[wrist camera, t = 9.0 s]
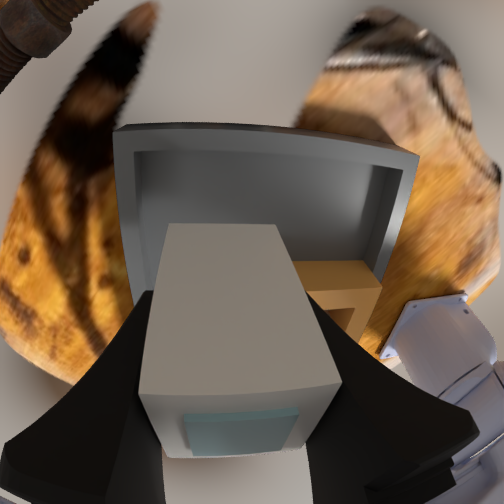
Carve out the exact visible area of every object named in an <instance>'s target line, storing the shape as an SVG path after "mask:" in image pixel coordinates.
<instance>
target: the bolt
mask: <svg viewBox="0 0 504 504" xmlns="http://www.w3.org/2000/svg"><path fill="white" fill-rule="evenodd" d="M94 1H99V0H9V2H8V3H7V4H6V5H5V6H4V7H3V8H2V9H1V10H0V94H1V92H3V91H4V89H5V87H6V86H7V85H8V84H9V83H10V82H11V81H12V79H14V77H15V75H17V74H18V72H19V71H20V70H21V69H22V68H23V66H25V65H26V64H27V62H28V61H30V60H31V58H32V57H35V58H46V57H48V56H49V54H51V52H53V51H54V50H55V49H56V48H57V47H58V46H59V45H60V44H61V43H62V42H63V41H64V40H65V39H66V38H67V37H68V36H69V35H70V34H71V31H72V28H71V24H70V22H71V21H73V18H77V17H78V14H81V13H83V10H86V9H88V6H90V5H94Z"/></svg>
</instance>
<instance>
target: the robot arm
mask: <svg viewBox="0 0 504 504" xmlns="http://www.w3.org/2000/svg"><path fill="white" fill-rule="evenodd" d="M305 293H306V295H307V298H308V300H309V302H310V305H311V307H312V309H313V312H314V314H315V316H316V319H317V321H318V324H319V326H320V328H321V331H322V333H323V336H324V338H325V340H326V343H327V345H328V348H329V350H330V353H331V355H332V358H333V360H334V363H335V365H336V368H337V370H338V373H339V375H340V378H341V380H342V384H341V386H340V387H339V389H338V391H337V393H336V394H335V396H334V398H333V399H332V401H331V403H330V404H329V406H328V408H327V409H326V411H325V413H324V414H323V416H322V417H321V419H320V421H319V422H318V424H317V425H316V427H315V428H314V430H313V431H312V433H311V435H310V436H309V438H308V439H307V441H306V442H305V443H306V449H307V455H308V461H309V468H310V476H311V483H312V494H313V504H504V435H503V436H501V437H500V438H499V439H498V440H496V441H495V442H494V443H493V444H491V445H490V446H488V447H487V448H486V449H484V450H483V451H482V452H480V453H479V454H477V455H476V456H473V455H474V454H476V453H477V452H478V451H480V450H481V449H483V448H484V447H485V446H487V445H488V444H490V443H491V442H492V441H494V440H495V439H496V438H497V437H498V436H500V435H501V434H502V433H504V361H500V362H499V361H496V358H497V349H496V344H495V341H494V339H493V337H492V336H491V334H490V333H489V331H488V330H487V329H486V328H485V326H484V325H483V324H482V323H481V321H480V320H479V319H478V317H477V316H476V315H475V314H474V313H473V311H472V310H471V309H470V308H469V306H468V305H467V304H466V303H465V302H466V300H467V298H468V295H467V294H466V293H464V294H457V295H450V296H443V297H436V298H428V299H420V300H412V301H409V302H407V303H406V305H405V307H404V309H403V311H402V313H401V315H400V317H399V319H398V321H397V323H396V325H395V327H394V329H393V330H392V332H391V334H390V336H389V338H388V340H387V342H386V343H385V345H384V347H383V349H382V350H381V352H380V354H379V357H380V359H385V358H390V357H394V356H399V358H400V360H401V361H402V363H403V365H404V366H405V368H406V370H407V372H408V374H409V376H410V378H411V380H412V381H413V383H414V385H413V384H411V383H410V382H408V381H407V380H405V379H403V378H402V377H400V376H399V375H397V374H395V373H394V372H393V371H391V370H390V369H388V368H387V367H386V366H384V365H383V364H382V363H381V362H379V361H378V360H377V359H375V358H374V357H373V356H371V355H370V354H369V353H368V352H367V351H365V350H364V349H363V348H362V347H361V346H360V345H359V344H358V343H356V342H355V341H354V340H353V339H352V338H351V337H350V336H349V335H348V334H347V333H346V332H345V331H344V330H343V329H341V328H340V327H339V326H338V325H337V324H336V323H335V322H334V320H333V319H332V318H331V317H330V316H329V315H328V314H327V313H326V312H325V311H324V310H323V309H322V308H321V307H320V306H319V305H318V304H317V303H316V301H315V300H314V299H313V298H312V297H311V296H310V295H309V294H308V293H307V292H306V291H305ZM153 294H154V290H145V291H144V292H143V293H142V295H141V297H140V298H139V300H138V302H137V303H136V305H135V307H134V308H133V310H132V311H131V313H130V314H129V316H128V317H127V319H126V321H125V322H124V323H123V325H122V326H121V328H120V329H119V331H118V332H117V334H116V335H115V337H114V338H113V339H112V341H111V342H110V343H109V345H108V346H107V347H106V349H105V350H104V351H103V353H102V354H101V355H100V357H99V358H98V359H97V360H96V362H95V363H94V364H93V365H92V366H91V368H90V369H89V370H88V371H87V372H86V373H85V375H84V376H83V377H82V378H81V379H80V380H79V381H78V382H77V383H76V384H75V385H74V386H73V387H72V388H71V389H70V391H69V392H68V393H67V394H66V395H65V396H64V397H63V398H62V399H61V400H60V401H58V402H57V403H56V404H55V405H54V406H53V407H52V408H50V409H49V410H48V411H47V412H46V413H45V414H44V415H42V416H41V417H40V418H39V419H38V420H37V421H35V422H34V423H33V424H32V425H31V426H29V427H27V428H26V429H25V430H23V431H22V432H21V433H19V434H18V435H16V436H15V437H14V438H12V439H11V440H9V441H8V442H6V443H5V445H4V448H3V452H2V455H1V460H0V487H1V488H2V489H4V490H6V491H8V492H10V493H12V494H13V495H15V496H18V497H20V498H22V499H24V500H26V501H28V502H31V504H166V501H165V492H164V482H163V469H162V449H161V448H162V447H161V442H160V440H159V438H158V436H157V434H156V432H155V430H154V428H153V426H152V424H151V421H150V419H149V417H148V415H147V413H146V410H145V408H144V406H143V404H142V401H141V399H140V396H139V394H138V392H139V383H140V375H141V367H142V360H143V353H144V346H145V340H146V333H147V327H148V321H149V315H150V310H151V304H152V299H153ZM471 456H473V457H471ZM470 457H471V458H470ZM0 504H16V503H14V502H12V501H9V500H7V499H5V498H3V497H1V496H0Z"/></svg>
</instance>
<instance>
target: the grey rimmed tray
mask: <svg viewBox="0 0 504 504" xmlns="http://www.w3.org/2000/svg"><path fill="white" fill-rule="evenodd" d="M113 153H114V170H115V183H116V194H117V204H118V212H119V221H120V228H121V236H122V243H123V249H124V255H125V261H126V267H127V273H128V278H129V284H130V289H131V294H132V298H133V303H134V307H135V305H136V303H137V302H138V300H139V298H140V297H141V295H142V293H143V292H144V291H145V290H154V288H155V283H156V278H157V273H158V269H159V264H160V259H161V255H162V250H163V246H164V242H165V237H166V233H167V229H168V225H169V223H210V224H275V225H276V227H277V229H278V231H279V234H280V236H281V238H282V240H283V243H284V245H285V247H286V249H287V252H288V254H289V256H290V258H291V261H292V263H293V265H294V267H295V270H296V272H297V274H298V277H299V279H300V281H301V284H302V286H303V288H304V290H305V291H306V292H307V293H308V294H309V295H310V296H311V297H312V298H313V299H314V300H315V301H316V303H317V304H318V305H319V306H320V307H321V308H322V309H323V310H328V312H329V314H330V316H331V318H332V319H333V320H334V322H335V323H336V324H337V325H338V326H339V327H340V328H341V329H343V330H344V331H345V332H346V333H347V334H348V335H349V336H350V337H351V338H352V339H353V340H354V341H355V342H356V343H358V342H359V340H360V338H361V336H362V334H363V332H364V329H365V327H366V325H367V323H368V321H369V319H370V316H371V314H372V312H373V309H374V307H375V305H376V303H377V300H378V298H379V295H380V293H381V291H382V288H383V287H382V285H381V284H380V283H381V281H382V278H383V276H384V273H385V270H386V268H387V265H388V262H389V260H390V257H391V254H392V251H393V248H394V245H395V242H396V239H397V236H398V233H399V230H400V227H401V224H402V221H403V218H404V214H405V211H406V208H407V204H408V201H409V197H410V194H411V190H412V186H413V183H414V179H415V175H416V171H417V167H418V163H419V158H420V156H419V155H417V154H415V153H413V152H410V151H408V150H406V149H404V148H402V147H400V146H397V145H394V144H389V143H384V142H380V141H375V140H370V139H364V138H359V137H353V136H348V135H342V134H335V133H329V132H322V131H314V130H307V129H298V128H289V127H279V126H268V125H254V124H238V123H237V124H236V123H209V122H208V123H207V122H171V123H144V124H143V123H142V124H127V125H125V126H123V127H121V128H119V129H117V130H115V131H114V132H113Z"/></svg>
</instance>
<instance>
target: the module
mask: <svg viewBox="0 0 504 504" xmlns="http://www.w3.org/2000/svg"><path fill="white" fill-rule="evenodd" d="M341 384H342V380H341V378H340V375H339V373H338V370H337V368H336V365H335V363H334V360H333V358H332V355H331V353H330V350H329V348H328V345H327V343H326V340H325V338H324V336H323V333H322V331H321V328H320V326H319V324H318V321H317V319H316V316H315V314H314V312H313V309H312V307H311V305H310V302H309V300H308V298H307V295H306V293H305V290H304V288H303V286H302V284H301V281H300V279H299V277H298V274H297V272H296V270H295V267H294V265H293V263H292V261H291V258H290V256H289V254H288V252H287V249H286V247H285V245H284V243H283V240H282V238H281V236H280V234H279V231H278V229H277V227H276V225H275V224H210V223H169V225H168V229H167V233H166V237H165V242H164V246H163V250H162V255H161V259H160V264H159V269H158V273H157V278H156V283H155V288H154V294H153V299H152V304H151V310H150V315H149V321H148V327H147V333H146V340H145V346H144V353H143V360H142V367H141V375H140V383H139V392H138V394H139V396H140V399H141V401H142V404H143V406H144V408H145V410H146V413H147V415H148V417H149V419H150V421H151V424H152V426H153V428H154V430H155V432H156V434H157V436H158V438H159V440H160V442H161V444H162V446H163V448H164V450H165V452H166V454H167V456H168V457H173V458H220V457H239V456H251V455H260V454H270V453H278V452H285V451H292V450H298V449H301V448H302V446H303V445H304V443H305V442H306V441H307V439H308V438H309V436H310V435H311V433H312V431H313V430H314V428H315V427H316V425H317V424H318V422H319V421H320V419H321V417H322V416H323V414H324V413H325V411H326V409H327V408H328V406H329V404H330V403H331V401H332V399H333V398H334V396H335V394H336V393H337V391H338V389H339V387H340V386H341Z"/></svg>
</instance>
